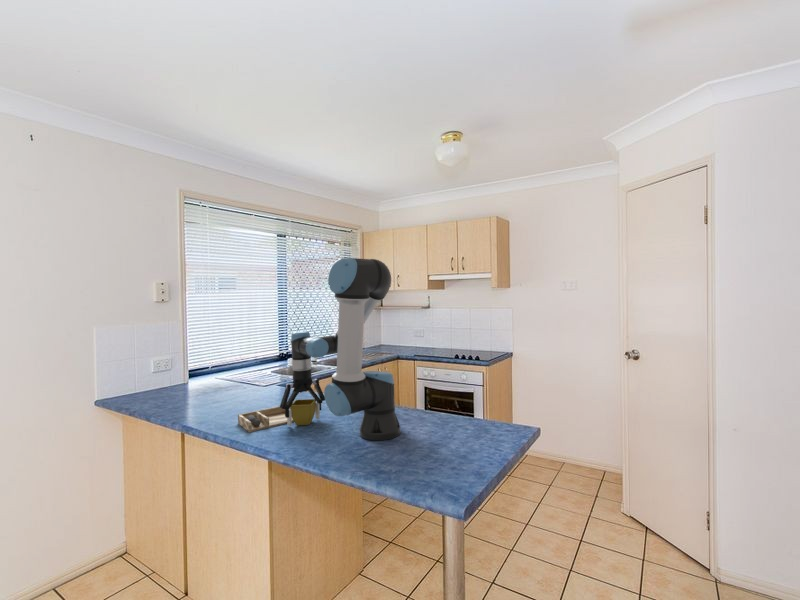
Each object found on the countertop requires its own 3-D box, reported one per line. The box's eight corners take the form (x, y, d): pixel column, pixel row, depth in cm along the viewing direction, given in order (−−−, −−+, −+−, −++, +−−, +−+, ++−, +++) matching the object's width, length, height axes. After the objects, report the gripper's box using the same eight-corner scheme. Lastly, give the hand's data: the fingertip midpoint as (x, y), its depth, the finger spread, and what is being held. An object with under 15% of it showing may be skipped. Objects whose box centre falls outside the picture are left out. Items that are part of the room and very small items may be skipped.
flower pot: (312, 426, 159) (311, 404, 159) (290, 427, 159) (289, 405, 159) (317, 420, 168) (316, 398, 168) (296, 420, 168) (295, 399, 168)
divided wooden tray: (299, 420, 168) (299, 411, 168) (249, 432, 155) (248, 422, 155) (286, 413, 180) (285, 404, 180) (238, 423, 167) (237, 414, 167)
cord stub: (261, 426, 160) (261, 419, 160) (254, 427, 158) (254, 420, 158) (253, 420, 168) (252, 413, 168) (246, 421, 167) (246, 415, 167)
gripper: (324, 364, 174) (326, 413, 174) (269, 372, 159) (272, 426, 159) (332, 366, 168) (334, 417, 168) (276, 374, 153) (279, 430, 153)
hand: (304, 421), depth 164 cm, fingers closed on flower pot, 12 cm apart
